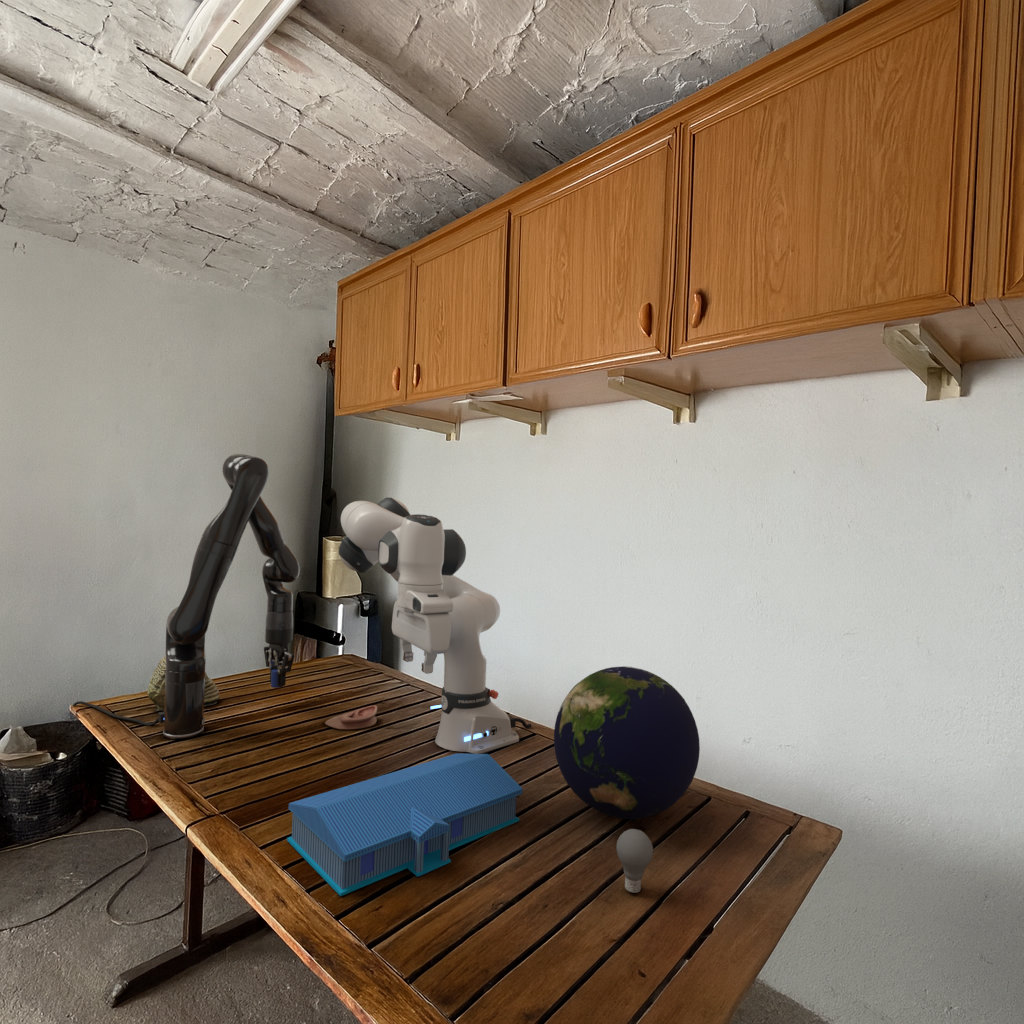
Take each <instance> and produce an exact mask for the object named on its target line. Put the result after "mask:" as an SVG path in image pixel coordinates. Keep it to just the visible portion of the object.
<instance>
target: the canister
mask: <svg viewBox="0 0 1024 1024" xmlns="http://www.w3.org/2000/svg"><path fill="white" fill-rule="evenodd" d="M277 675H278V671H277V669H273V670H272V671H271V683H270V687H271V688H274V689H275V688H276V689H278V688H283V687H284V686H281V687H279V686H277Z"/></svg>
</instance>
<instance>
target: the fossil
mask: <svg viewBox="0 0 1024 1024" xmlns="http://www.w3.org/2000/svg"><path fill="white" fill-rule="evenodd" d="M165 674H166V654H165V655H164V656H163V657H162V658H161V659H160V660H159V662H158V663H157V666H156V667H155V669H154V670H153V672H152V675H151V677H150V680H149V684H148V688H147V697H148V699H149V700H150V701H152V703H153V704H154V706H155V711H158V712H159V711H160V712H163V711H164V705H165ZM220 698H221V696H220V690H219V688H218V686H217V685H216V683H215V682H214V681H213V679H212V678H211V677H209V675H208V674H207V672H206V671H205V693H204V707H207V706H213V705H215V704H217V703H218V701H219V699H220Z"/></svg>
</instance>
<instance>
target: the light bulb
mask: <svg viewBox="0 0 1024 1024" xmlns="http://www.w3.org/2000/svg"><path fill="white" fill-rule="evenodd" d="M615 849H616V854H617V857H618V859H619V861H620V863H621V865H622V867H623V873H624V874H623V875H624V876H625V878H624V888H625V890H627V891H628V892H630V893H634V894H635V893H639V892H640V891H641V889H642V887H641V886H642V879H643V877H644V875H645V871H646V868H647V867H648V866H649V864H650V863H651V861H652V859H653V855H654V847H653V843H652V841H651V838H649V836H648V835H647V834H646V833H645V832H643V831H642V830H641V829H636V828H629V829H627V830H625V831H623V832H622V833H621V834H620V835H619V837H618V839H617V841H616V847H615Z"/></svg>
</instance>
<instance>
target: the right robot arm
mask: <svg viewBox="0 0 1024 1024" xmlns="http://www.w3.org/2000/svg"><path fill="white" fill-rule="evenodd" d="M340 524H341V528H342V530H343V532H344V534H345V536H344V538H341V539H340V541H341V542H340V544H339V547H338V555H339V557H340V560H341V562H342V563H343V564H344V566H346V567H347V568H348V569H349V570H351V571H354V572H356V573H357V572H358V573H360V574H366V573H367V572H369V571H370V570H372V569H373V568H374V567H375V565H376V564H377V563H378V565H379V566H380V567H381V568H382V570H383V571H384V572H385V573H387V574H388V575H390V576H391V577H392V578H393V579H394V580H395V582H397V598H396V599H397V600H395V602H394V604H393V609H392V618H391V619H392V620H391V633H392V634H393V635H394V636H396V637H397V638H399V639H400V641H399V643H400V648H401V652H402V660H403V661H404V662H406V663H411V662H413V661H414V652H413V647H412V646H414V647H416V648H418V649H420V650H422V651H423V656H424V659H423V662H421V672H422V673H424V674H426V675H427V674H428V675H429V674H432V673H433V672H434V664H435V661H436V659H437V657H438V655H441V654H443V661H444V662H443V663H444V664H443V666H444V667H443V669H444V670H443V687H442V688H441V700H440V704H439V705H432V706H430V710H434V709H440V708H441V714H440V721H439V726H438V730H437V733H436V737H435V740H434V742H435V744H436V745H437V746H439V747H440V748H442V749H445V750H448V751H453V752H461V753H462V752H463V753H468V754H486V753H488V752H491V751H494V750H497V749H500V748H503V747H507V746H510V745H512V744H516V743H519V741H520V735H519V733H517V732H516V730H514V729H515V728H516V727H517V723H520V724H521V725H522V726H523V727H524V728H525V729H529V728H532V723H526V721H525V720H524V719H522V718H520V717H514V716H512V715H510V714H509V713H506V712H505V711H504V710H503V709H502V708H500V707H499V706H498V705H497V704H496V703H494V702H493V701H492V700H491V698H492V699H493V700H496V699H498V697H499V692H498V691H497V690H495V689H490V688H489V687H487V686H486V685H487V684H486V683H487V664H488V663H487V662H488V661H487V658H486V656H485V655H484V654H483V651H482V646H481V642H480V636H481V633H483V632H487V631H488V630H490V629H491V628H492V627H493V626H494V625H495V624H496V622H497V621H498V619H500V615H501V606H500V603H499V602H498V600H497V598H496V597H495V596H493V595H492V594H491V593H488V592H484V591H483V590H480V589H478V588H477V587H475V586H473V585H472V584H471V583H468V582H467V581H465V580H463V579H461V578H460V577H457V576H456V575H454V574H456V573H457V572H458V571H459V570H460V569H461V568H462V566H463V565H464V563H465V560H466V558H467V548H466V544H465V542H464V539H463V538H462V536H461V535H460V534H459V533H458V532H457V531H456V530H454V529H451V528H450V529H449V528H448V529H447V528H446V529H444V527H443V523H442V521H441V520H440V519H439V518H438V517H436V516H432V515H427V514H411V513H410V510H409V509H408V507H407V506H406V505H405V504H404V503H403V502H401V500H398V499H395V498H393V497H389V496H388V497H385V498H382V499H381V500H379V501H378V502H377V503H375V502H372V501H369V500H368V501H367V500H355V501H352V502H350V503H348V504H347V505H346V506H345V507H344V508H343V510H342V512H341V514H340Z"/></svg>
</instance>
